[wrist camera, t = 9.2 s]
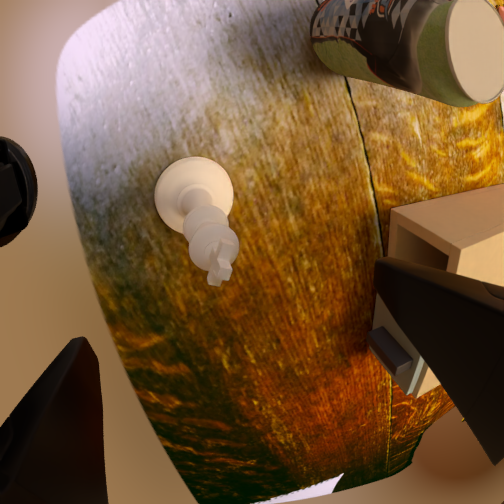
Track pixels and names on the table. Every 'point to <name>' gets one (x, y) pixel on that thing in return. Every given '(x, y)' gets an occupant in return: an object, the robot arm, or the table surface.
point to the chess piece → (200, 213)
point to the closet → (452, 242)
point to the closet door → (394, 349)
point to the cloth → (501, 12)
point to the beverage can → (415, 46)
